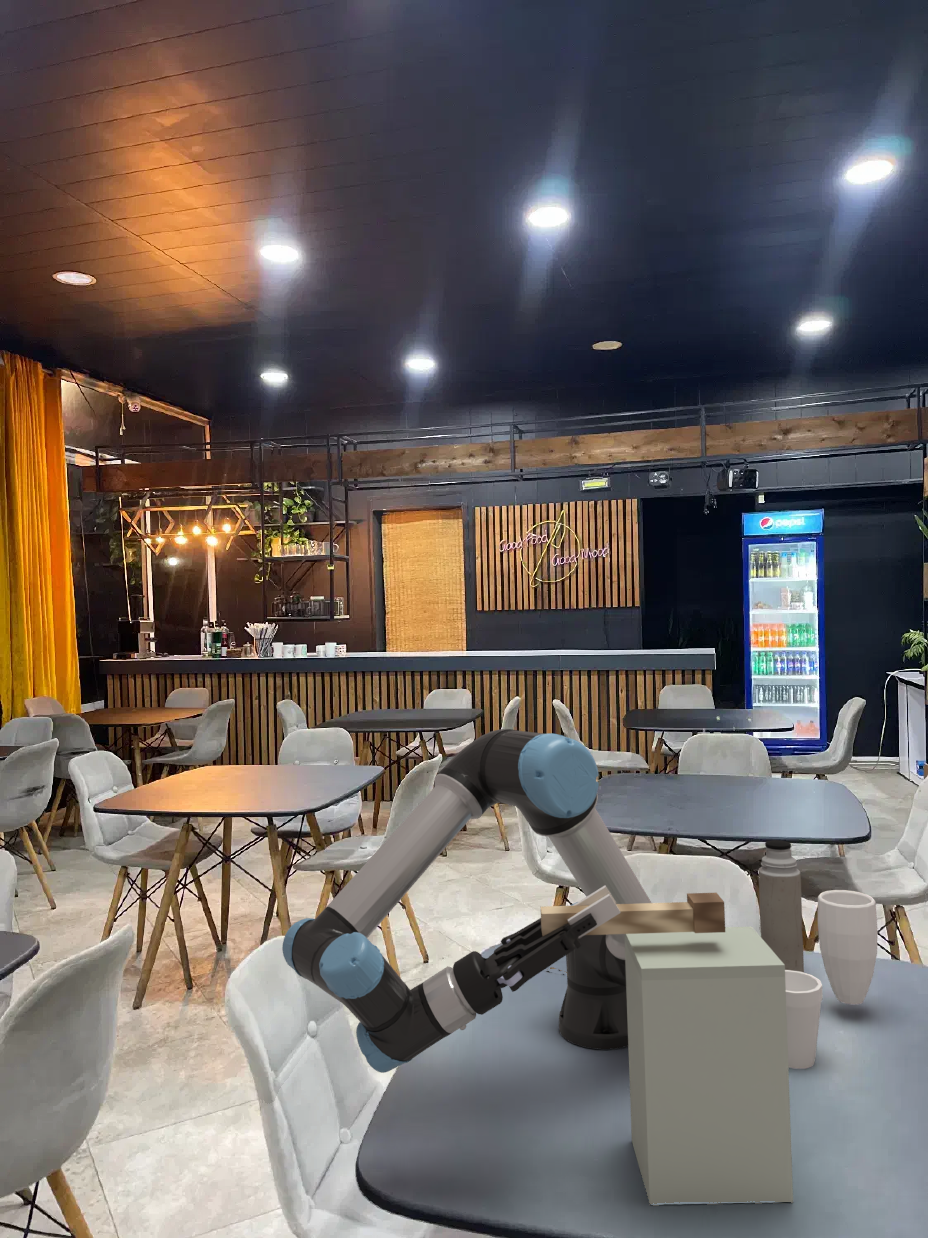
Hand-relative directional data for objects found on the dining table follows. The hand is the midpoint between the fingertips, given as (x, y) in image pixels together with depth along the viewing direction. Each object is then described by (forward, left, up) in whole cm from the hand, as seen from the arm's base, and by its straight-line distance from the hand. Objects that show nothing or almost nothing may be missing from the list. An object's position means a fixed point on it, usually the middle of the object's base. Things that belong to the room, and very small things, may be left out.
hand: (612, 899), depth 120 cm
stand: (+8, +8, -37) cm, 38 cm away
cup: (+3, +66, -37) cm, 76 cm away
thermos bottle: (-13, +72, -37) cm, 82 cm away
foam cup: (+3, +44, -37) cm, 57 cm away
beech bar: (+2, +2, -4) cm, 5 cm away
